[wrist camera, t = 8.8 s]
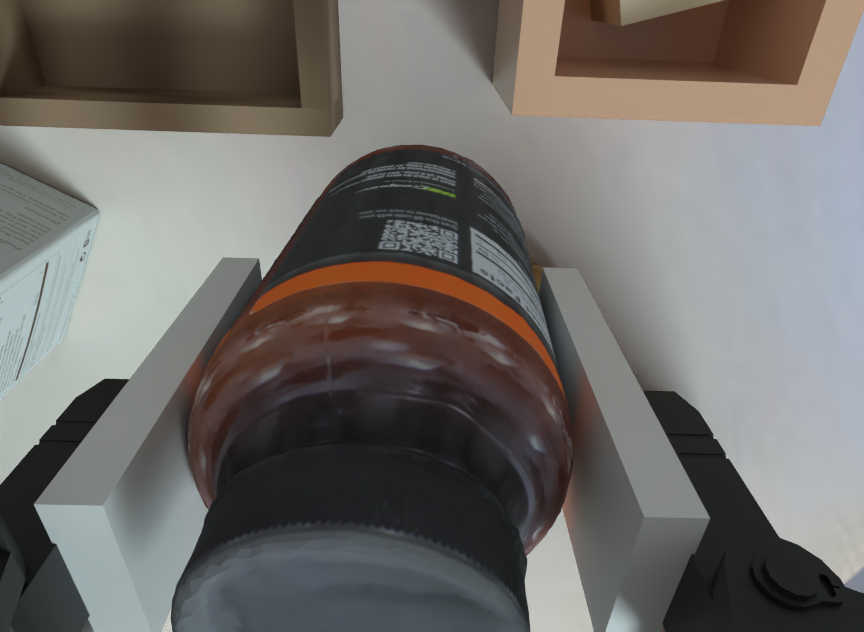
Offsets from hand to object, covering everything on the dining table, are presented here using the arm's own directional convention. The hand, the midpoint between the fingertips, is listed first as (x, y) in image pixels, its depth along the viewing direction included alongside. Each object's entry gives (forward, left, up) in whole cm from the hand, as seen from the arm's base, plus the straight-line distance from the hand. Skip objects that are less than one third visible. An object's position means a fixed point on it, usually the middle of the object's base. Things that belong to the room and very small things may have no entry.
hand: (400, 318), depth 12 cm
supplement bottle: (0, 0, -4) cm, 4 cm away
